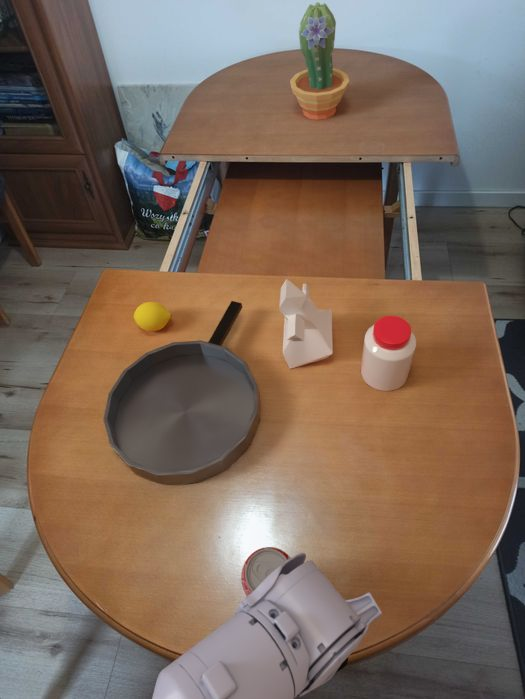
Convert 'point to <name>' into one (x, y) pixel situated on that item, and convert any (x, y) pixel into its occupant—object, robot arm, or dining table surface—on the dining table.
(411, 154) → the dining table surface
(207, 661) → the robot arm
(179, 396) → the pan
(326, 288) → the dining table surface
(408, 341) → the pill bottle
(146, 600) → the dining table surface
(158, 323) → the lemon
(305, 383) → the dining table surface
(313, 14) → the potted cactus
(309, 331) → the white angular piece
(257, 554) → the beverage can
